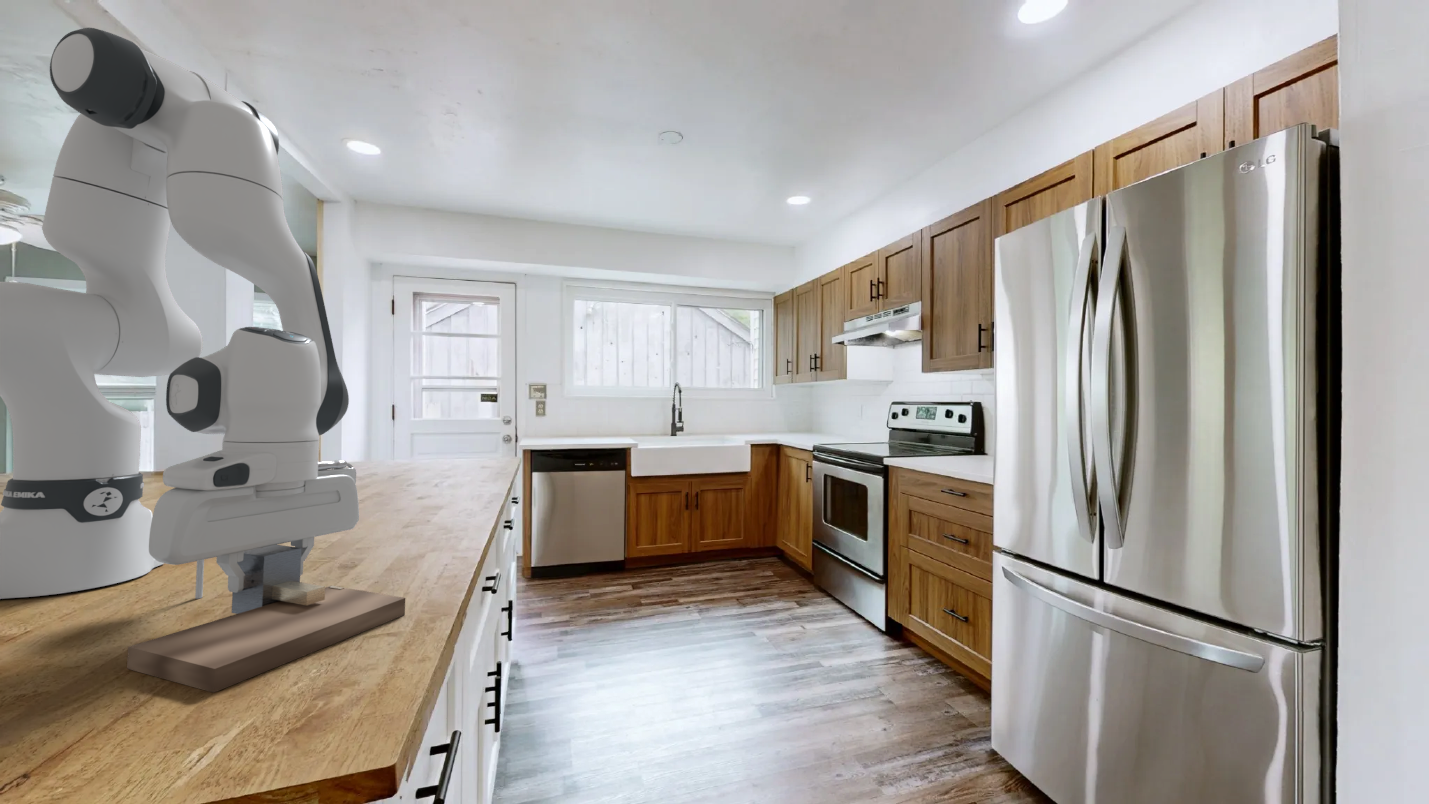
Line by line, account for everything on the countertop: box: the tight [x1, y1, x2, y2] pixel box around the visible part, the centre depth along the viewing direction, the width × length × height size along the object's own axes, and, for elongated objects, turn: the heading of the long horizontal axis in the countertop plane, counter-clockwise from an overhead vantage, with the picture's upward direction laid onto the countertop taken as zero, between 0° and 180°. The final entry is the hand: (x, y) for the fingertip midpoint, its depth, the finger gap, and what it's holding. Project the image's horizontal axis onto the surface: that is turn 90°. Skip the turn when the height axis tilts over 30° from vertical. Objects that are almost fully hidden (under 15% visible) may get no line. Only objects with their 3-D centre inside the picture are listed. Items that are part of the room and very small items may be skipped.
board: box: [126, 585, 406, 693], centre depth 57 cm, size 12×19×2 cm, turn 162°
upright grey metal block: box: [231, 544, 326, 615], centre depth 62 cm, size 10×4×7 cm, turn 72°
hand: (266, 583), depth 63 cm, fingers closed on upright grey metal block, 4 cm apart
